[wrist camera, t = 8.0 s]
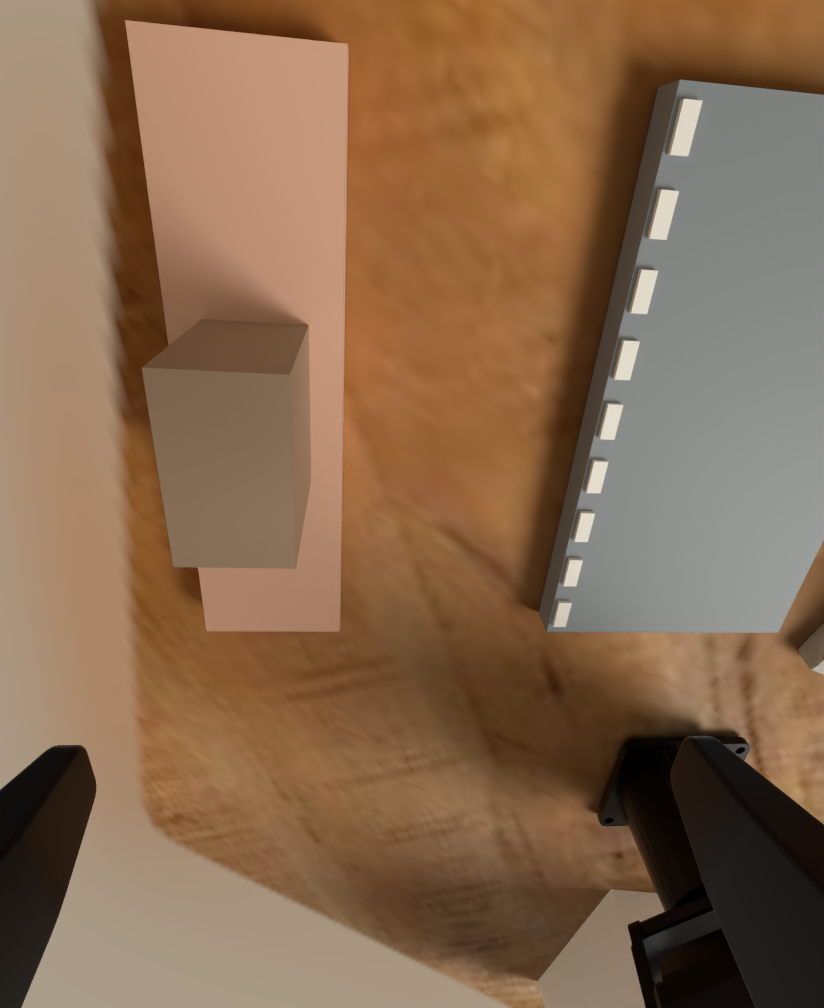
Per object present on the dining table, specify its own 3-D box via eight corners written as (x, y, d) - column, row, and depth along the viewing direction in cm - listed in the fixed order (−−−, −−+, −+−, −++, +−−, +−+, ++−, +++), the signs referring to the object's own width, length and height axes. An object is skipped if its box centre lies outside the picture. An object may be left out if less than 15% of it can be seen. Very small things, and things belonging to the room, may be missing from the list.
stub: (340, 611, 23) (334, 741, 18) (213, 610, 22) (167, 744, 17) (348, 54, 14) (340, -27, 9) (142, 32, 14) (3, -67, 8)
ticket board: (760, 614, 25) (780, 635, 24) (538, 612, 24) (547, 634, 23) (990, 122, 16) (1039, 116, 15) (657, 87, 15) (682, 78, 14)
